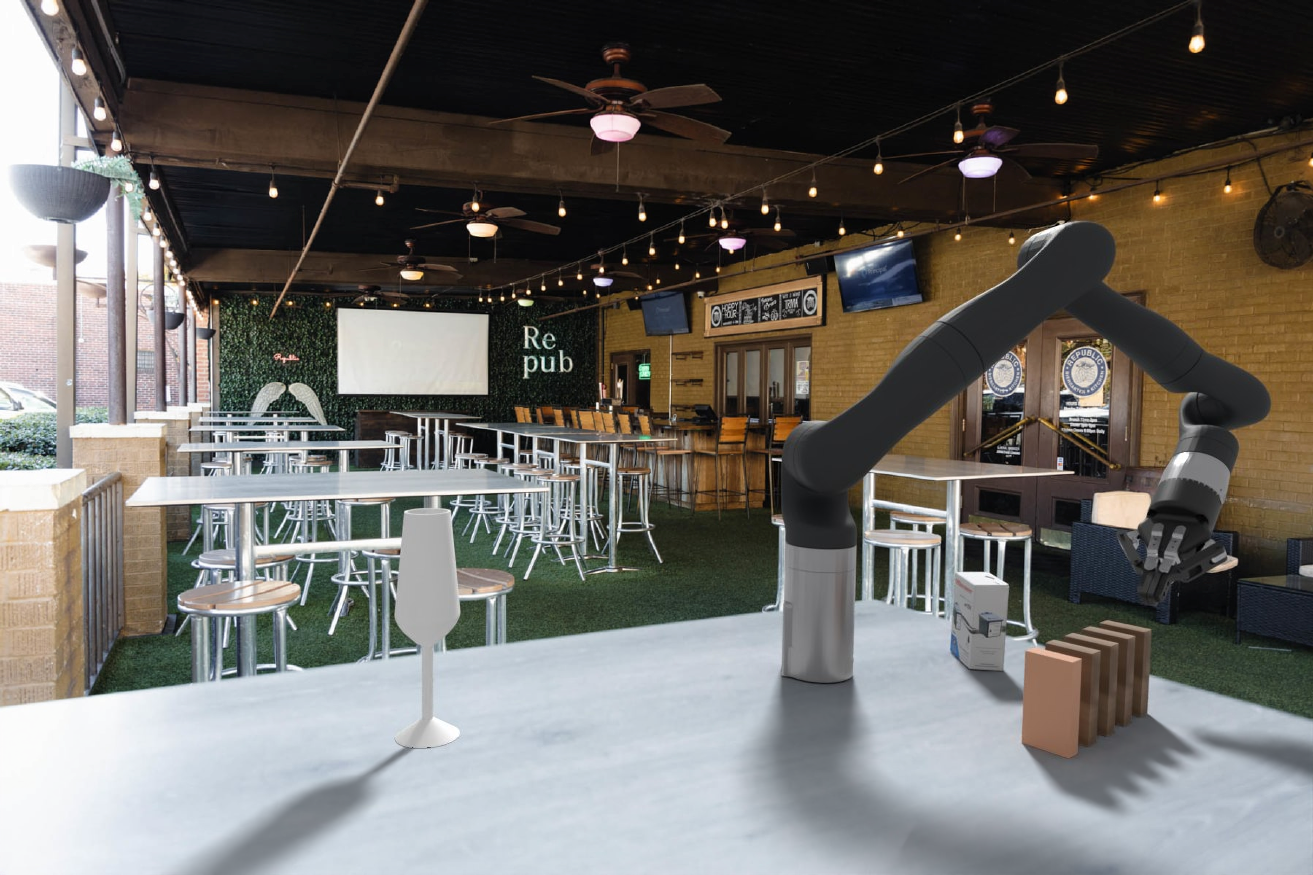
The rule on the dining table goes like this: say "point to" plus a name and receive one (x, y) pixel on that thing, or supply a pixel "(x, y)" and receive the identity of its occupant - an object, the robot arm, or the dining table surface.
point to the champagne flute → (427, 608)
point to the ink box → (979, 620)
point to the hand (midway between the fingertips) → (1148, 601)
